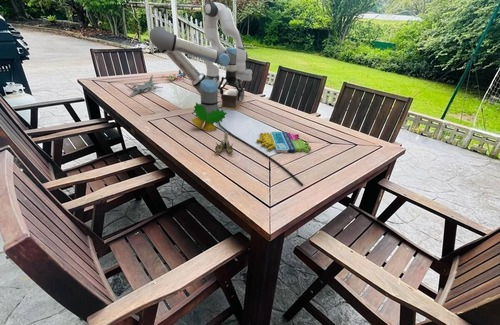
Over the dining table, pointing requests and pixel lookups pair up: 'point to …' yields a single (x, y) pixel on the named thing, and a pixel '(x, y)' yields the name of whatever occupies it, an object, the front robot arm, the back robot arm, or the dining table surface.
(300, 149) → the multicolored flat piece
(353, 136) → the dining table surface
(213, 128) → the ornament
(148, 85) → the airplane
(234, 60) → the front robot arm
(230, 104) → the brown-grey rectangular block
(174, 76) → the toy
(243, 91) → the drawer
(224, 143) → the jawbone
